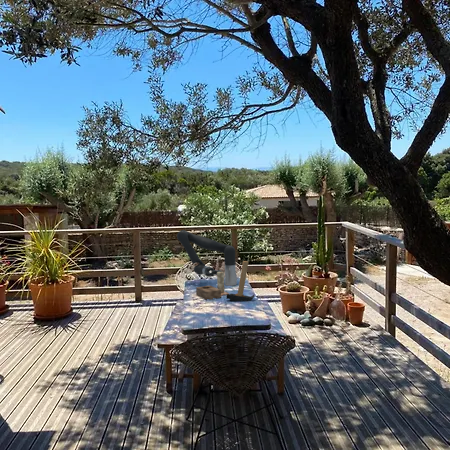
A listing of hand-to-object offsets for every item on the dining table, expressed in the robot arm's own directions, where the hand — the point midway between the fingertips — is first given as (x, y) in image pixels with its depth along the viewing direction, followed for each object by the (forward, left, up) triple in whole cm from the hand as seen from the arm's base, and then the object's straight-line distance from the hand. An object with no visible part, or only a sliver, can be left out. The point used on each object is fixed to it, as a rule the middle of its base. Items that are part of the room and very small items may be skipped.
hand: (217, 274), depth 338 cm
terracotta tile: (0, +5, -14) cm, 15 cm away
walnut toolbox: (+12, +7, -14) cm, 20 cm away
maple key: (0, +5, -13) cm, 14 cm away
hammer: (-2, +31, -15) cm, 34 cm away
